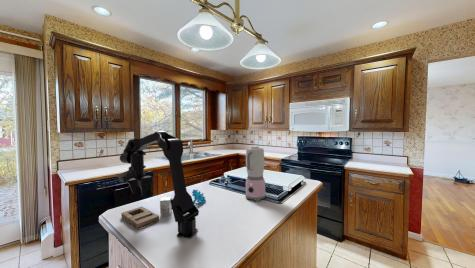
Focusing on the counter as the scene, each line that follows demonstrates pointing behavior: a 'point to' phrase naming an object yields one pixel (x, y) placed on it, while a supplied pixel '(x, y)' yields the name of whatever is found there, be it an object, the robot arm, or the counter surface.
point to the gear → (198, 196)
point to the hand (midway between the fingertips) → (138, 195)
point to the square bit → (165, 206)
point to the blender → (255, 173)
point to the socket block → (140, 217)
